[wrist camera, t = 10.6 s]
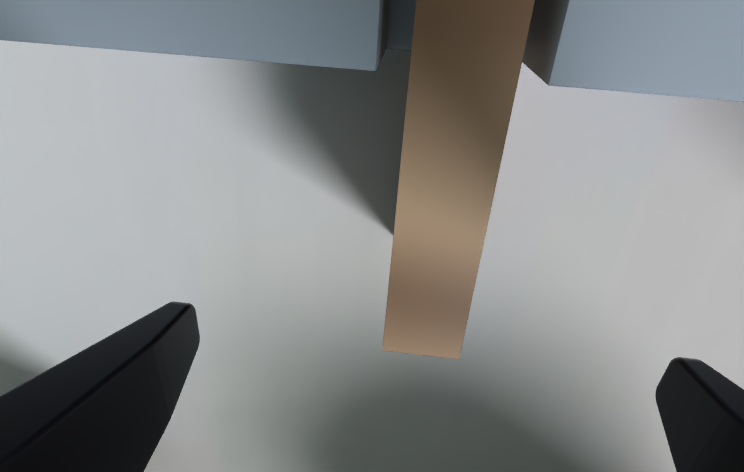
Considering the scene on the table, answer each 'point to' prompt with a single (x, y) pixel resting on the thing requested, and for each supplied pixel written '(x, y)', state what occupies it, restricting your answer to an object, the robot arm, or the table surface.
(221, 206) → the table surface
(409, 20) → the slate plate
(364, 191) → the table surface
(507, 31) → the notched wooden block
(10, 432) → the robot arm
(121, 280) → the table surface
